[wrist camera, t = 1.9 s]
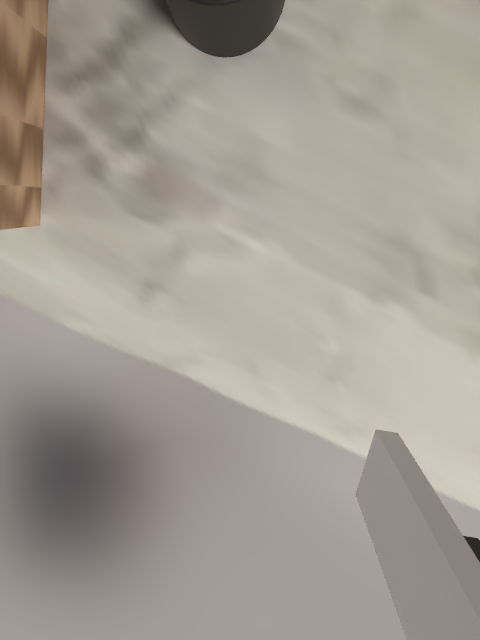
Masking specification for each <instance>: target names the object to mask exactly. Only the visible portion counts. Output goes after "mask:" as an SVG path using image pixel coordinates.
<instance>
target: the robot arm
mask: <svg viewBox="0 0 480 640" xmlns="http://www.w3.org/2000/svg"><path fill="white" fill-rule="evenodd" d="M356 497H357V500H358V503H359V506H360V509H361V511H362V514H363V517H364V520H365V523H366V525H367V528H368V531H369V534H370V537H371V539H372V542H373V545H374V548H375V551H376V554H377V556H378V559H379V562H380V565H381V568H382V571H383V574H384V576H385V579H386V582H387V585H388V588H389V591H390V593H391V596H392V599H393V602H394V604H395V607H396V610H397V613H398V616H399V619H400V622H401V625H402V627H403V630H404V633H405V636H406V639H407V640H480V540H479V539H478V538H473V537H466V536H463V535H462V534H461V532H460V530H459V529H458V527H457V526H456V524H455V523H454V521H453V519H452V518H451V516H450V515H449V513H448V512H447V510H446V509H445V507H444V505H443V504H442V502H441V500H440V499H439V497H438V496H437V494H436V493H435V491H434V489H433V488H432V486H431V485H430V483H429V481H428V480H427V478H426V477H425V475H424V474H423V472H422V470H421V469H420V467H419V466H418V464H417V462H416V461H415V459H414V458H413V456H412V455H411V453H410V451H409V450H408V448H407V447H406V445H405V444H404V442H403V440H402V439H401V437H400V436H399V434H398V433H394V432H388V431H382V430H376V431H375V434H374V437H373V440H372V443H371V447H370V450H369V453H368V456H367V460H366V463H365V466H364V469H363V472H362V476H361V479H360V482H359V485H358V488H357V492H356Z"/></svg>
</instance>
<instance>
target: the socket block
mask: <svg viewBox="0 0 480 640" xmlns="http://www.w3.org/2000/svg"><path fill="white" fill-rule="evenodd" d="M47 16H48V0H0V230H1V229H11V228H20V227H30V226H39V225H40V206H41V179H42V152H43V124H44V97H45V70H46V43H47Z"/></svg>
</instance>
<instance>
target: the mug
mask: <svg viewBox="0 0 480 640" xmlns="http://www.w3.org/2000/svg"><path fill="white" fill-rule="evenodd" d="M165 1H166V3H167V6H168V8H169V10H170V12H171V15H172V17H173V19H174V21H175V23H176V25H177V27H178V29H179V30H180V31H181V33H182V34H183V36H184V37H185V38H186V39H187V40H188V41H189V42H190V43H191V44H192V45H194V46H195V47H196V48H198V49H199V50H201V51H203V52H205V53H207V54H210V55H213V56H218V57H234V56H239V55H242V54H245V53H247V52H249V51H251V50H253V49H254V48H256V47H257V46H259V45H260V44H261V43H262V42H263V41H264V40H265V39H266V38H267V37H268V36H269V34H270V33H271V32H272V31H273V29H274V27H275V26H276V24H277V22H278V20H279V17H280V15H281V13H282V9H283V6H284V2H285V0H165Z"/></svg>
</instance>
